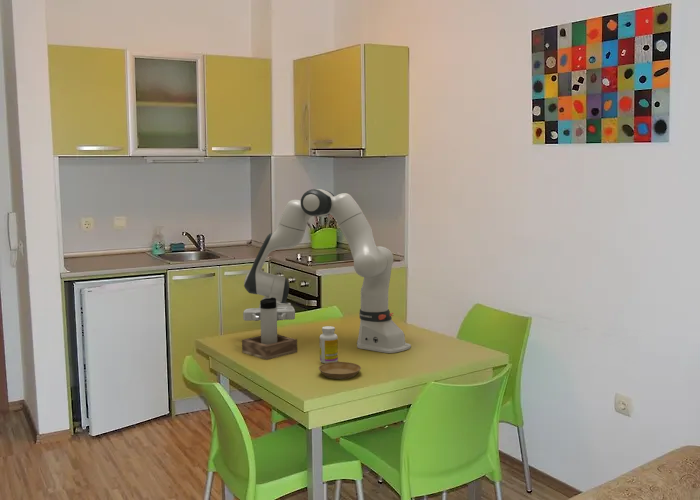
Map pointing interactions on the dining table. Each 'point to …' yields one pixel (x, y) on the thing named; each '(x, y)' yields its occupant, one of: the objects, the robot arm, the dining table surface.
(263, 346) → the square wooden tray
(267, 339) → the travel mug
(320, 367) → the plant saucer
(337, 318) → the dining table surface
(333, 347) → the supplement bottle
